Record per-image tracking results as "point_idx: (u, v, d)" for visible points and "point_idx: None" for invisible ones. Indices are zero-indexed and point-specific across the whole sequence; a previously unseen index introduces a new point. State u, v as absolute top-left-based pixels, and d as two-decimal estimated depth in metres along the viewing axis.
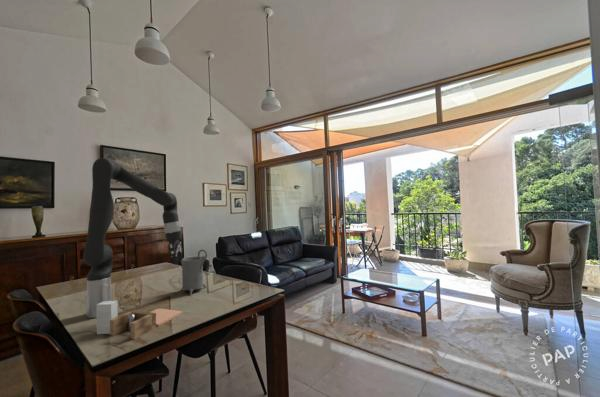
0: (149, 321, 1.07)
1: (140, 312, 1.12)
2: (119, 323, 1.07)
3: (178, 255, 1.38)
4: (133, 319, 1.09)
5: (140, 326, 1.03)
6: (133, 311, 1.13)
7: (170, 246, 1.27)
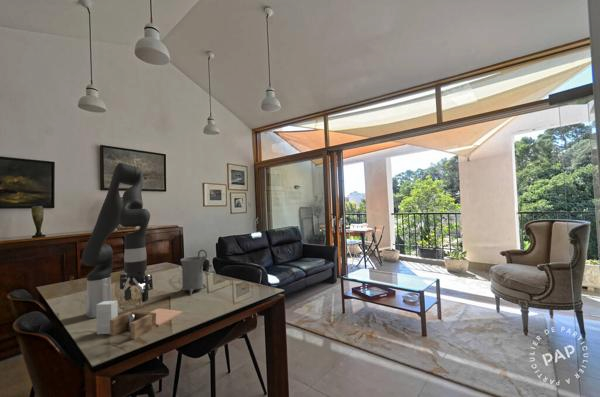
0: (149, 321, 1.07)
1: (140, 312, 1.12)
2: (119, 323, 1.07)
3: None
4: (133, 319, 1.09)
5: (140, 326, 1.03)
6: (133, 311, 1.13)
7: None
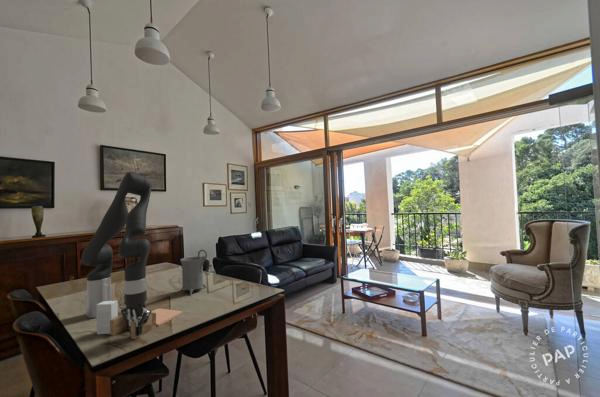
0: (149, 321, 1.07)
1: None
2: (119, 323, 1.07)
3: None
4: None
5: None
6: None
7: None
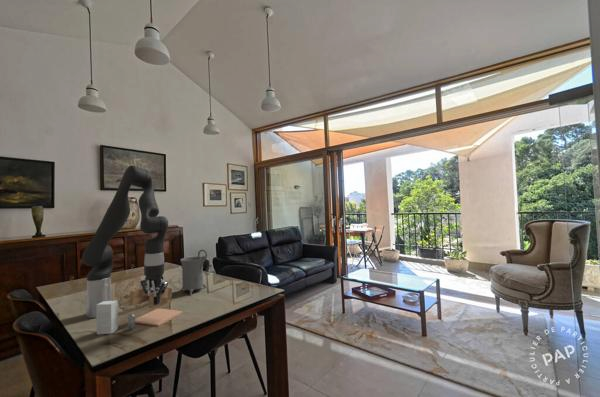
0: (165, 294, 1.16)
1: (157, 287, 1.21)
2: (138, 295, 1.16)
3: None
4: (133, 319, 1.09)
5: None
6: None
7: None
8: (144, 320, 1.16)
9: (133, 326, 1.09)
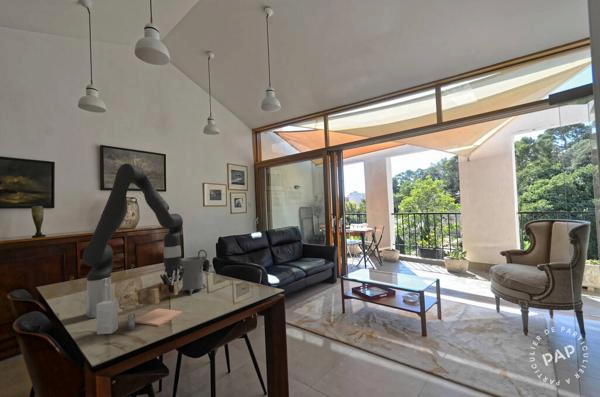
0: None
1: (149, 286, 1.22)
2: None
3: None
4: (133, 319, 1.09)
5: None
6: (142, 289, 1.18)
7: (162, 277, 1.20)
8: (144, 320, 1.16)
9: (133, 326, 1.09)
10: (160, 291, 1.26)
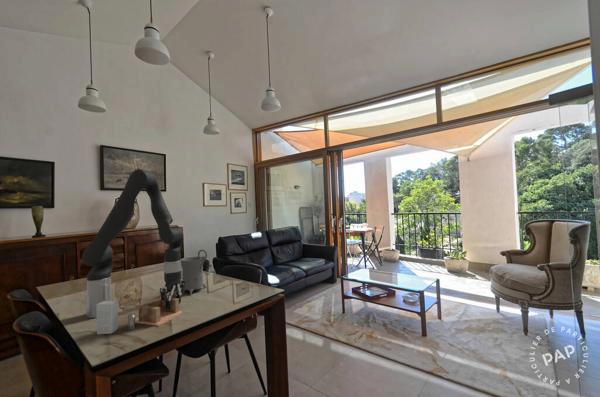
0: None
1: (151, 302, 1.21)
2: None
3: (176, 297, 1.28)
4: (133, 319, 1.09)
5: None
6: (143, 305, 1.17)
7: (161, 291, 1.19)
8: None
9: (133, 326, 1.09)
10: (161, 307, 1.25)
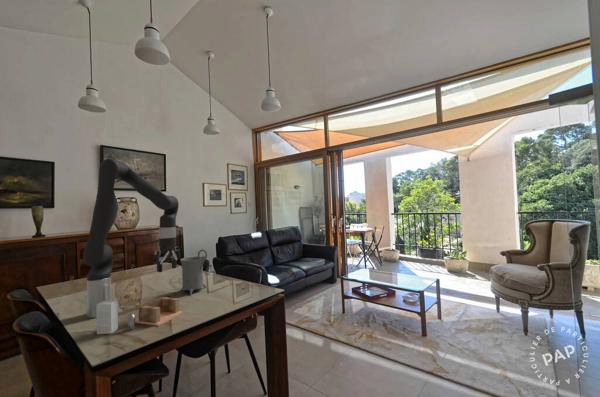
0: None
1: (151, 302, 1.21)
2: None
3: (172, 262, 1.31)
4: (133, 319, 1.09)
5: None
6: (143, 305, 1.17)
7: (154, 253, 1.21)
8: None
9: (133, 326, 1.09)
10: (161, 307, 1.25)
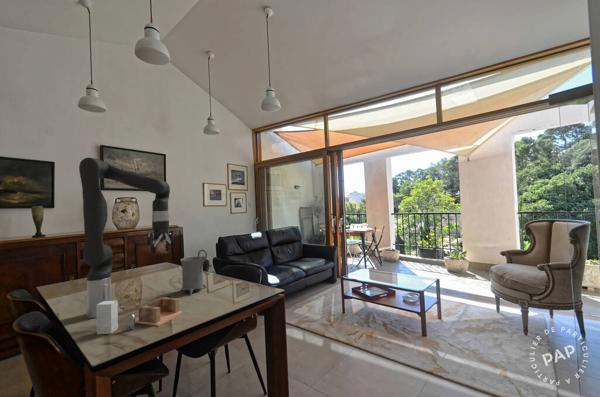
0: None
1: (151, 302, 1.21)
2: None
3: (166, 245, 1.35)
4: (133, 319, 1.09)
5: None
6: (143, 305, 1.17)
7: (148, 235, 1.25)
8: None
9: (133, 326, 1.09)
10: (161, 307, 1.25)
